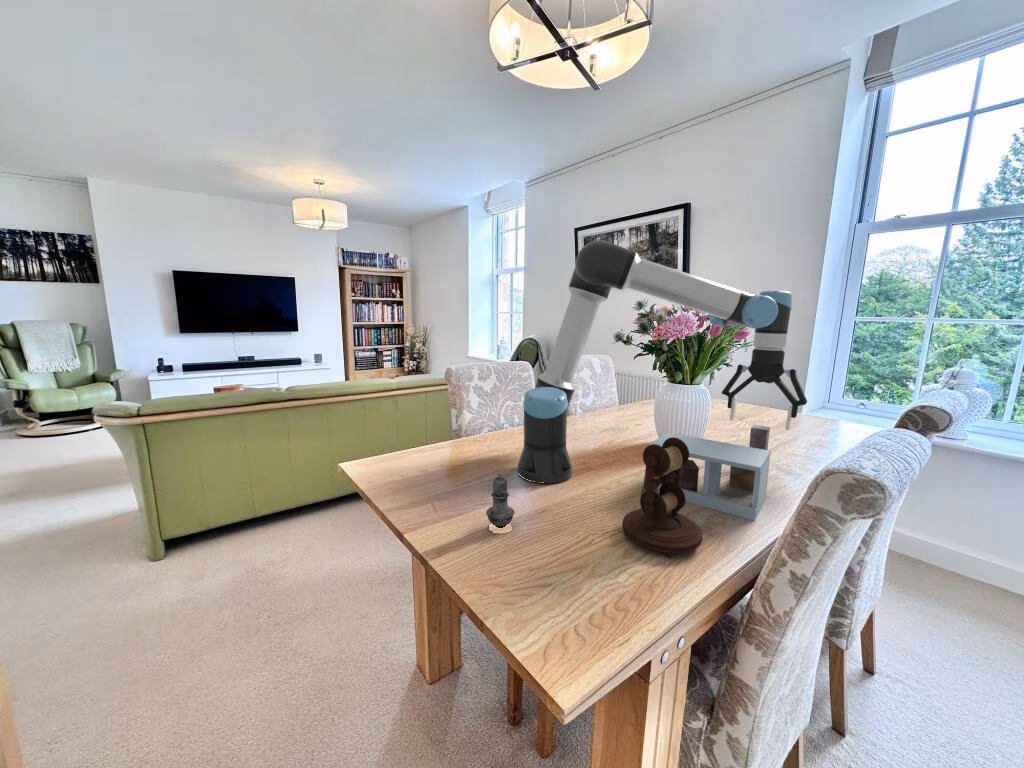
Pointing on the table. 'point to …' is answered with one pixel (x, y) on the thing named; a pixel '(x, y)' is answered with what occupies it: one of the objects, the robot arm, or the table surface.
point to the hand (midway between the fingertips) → (758, 424)
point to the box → (689, 476)
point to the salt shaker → (500, 504)
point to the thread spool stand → (663, 503)
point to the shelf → (714, 459)
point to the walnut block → (744, 476)
